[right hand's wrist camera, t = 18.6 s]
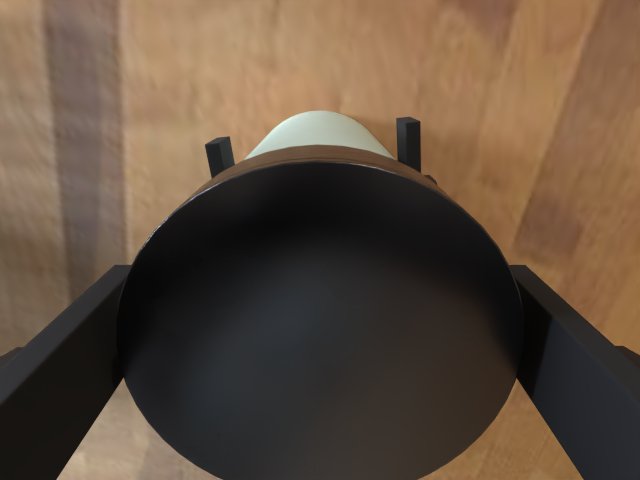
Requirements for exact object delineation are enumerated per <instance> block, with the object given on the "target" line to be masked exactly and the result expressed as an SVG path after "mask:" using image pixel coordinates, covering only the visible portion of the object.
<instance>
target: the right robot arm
mask: <svg viewBox="0 0 640 480" xmlns="http://www.w3.org/2000/svg"><path fill="white" fill-rule="evenodd" d="M131 266H132V265H114V266H113V267H112V268H111V269H110V270H109V271H108V272H107V273H105V274H104V275H103V276H102V277H101V278H100V279H99V280H98V281H97V282H96V283H94V284H93V285H92V286H91V287H90V288H89V289H88V290H87V291H86V292H84V293H83V294H82V295H81V296H80V297H79V298H78V299H77V300H76V301H74V302H73V303H72V304H71V305H70V306H69V307H68V308H67V309H66V310H64V311H63V312H62V313H61V314H60V315H59V316H58V317H57V318H56V319H54V320H53V321H52V322H51V323H50V324H49V325H48V326H47V327H46V328H45V329H43V330H42V331H41V332H40V333H39V334H38V335H37V336H36V337H35V338H33V339H32V340H31V341H30V342H29V343H28V344H27V345H26V346H25V347H17V348H15V349H14V350H12V351H10V352H8V353H6V354H5V355H3V356H1V357H0V480H56V479H57V478H58V476H59V475H60V473H61V472H62V470H63V468H64V467H65V465H66V464H67V462H68V461H69V459H70V458H71V456H72V455H73V453H74V452H75V450H76V449H77V447H78V446H79V444H80V443H81V441H82V440H83V438H84V437H85V435H86V434H87V432H88V431H89V429H90V428H91V426H92V425H93V423H94V422H95V420H96V418H97V417H98V415H99V414H100V412H101V411H102V409H103V408H104V406H105V405H106V403H107V402H108V400H109V399H110V397H111V396H112V394H113V393H114V391H115V390H116V388H117V387H118V385H119V384H120V382H121V381H122V379H123V378H124V376H123V373H122V370H121V367H120V363H119V357H118V351H117V345H116V317H117V311H118V304H119V298H120V294H121V291H122V288H123V285H124V282H125V279H126V276H127V273H128V272H129V270H130V268H131ZM509 266H510V268H511V270H512V273H513V276H514V279H515V281H516V284H517V287H518V289H519V293H520V298H521V303H522V308H523V313H524V345H523V353H522V360H521V364H520V367H519V371H518V374H517V379H518V381H519V382H520V384H521V385H522V387H523V388H524V390H525V391H526V393H527V394H528V396H529V397H530V399H531V400H532V402H533V403H534V405H535V406H536V408H537V409H538V411H539V412H540V414H541V415H542V417H543V418H544V420H545V422H546V423H547V425H548V426H549V428H550V429H551V431H552V432H553V434H554V435H555V437H556V438H557V440H558V441H559V443H560V444H561V446H562V447H563V449H564V450H565V452H566V453H567V455H568V456H569V458H570V459H571V461H572V462H573V464H574V465H575V467H576V468H577V470H578V472H579V473H580V475H581V476H582V478H583V479H584V480H640V355H638V354H636V353H635V352H633V351H631V350H629V349H628V348H626V347H624V346H614V345H613V344H612V343H611V342H610V341H609V340H608V339H607V338H605V337H604V336H603V335H602V334H601V333H600V332H599V331H598V330H597V329H595V328H594V327H593V326H592V325H591V324H590V323H589V322H588V321H587V320H586V319H584V318H583V317H582V316H581V315H580V314H579V313H578V312H577V311H576V310H574V309H573V308H572V307H571V306H570V305H569V304H568V303H567V302H566V301H564V300H563V299H562V298H561V297H560V296H559V295H558V294H557V293H556V292H554V291H553V290H552V289H551V288H550V287H549V286H548V285H547V284H546V283H544V282H543V281H542V280H541V279H540V278H539V277H538V276H537V275H536V274H535V273H533V272H532V271H531V270H530V269H529V268H528V267H527V266H526V265H509Z"/></svg>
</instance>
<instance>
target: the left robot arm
mask: <svg viewBox="0 0 640 480" xmlns="http://www.w3.org/2000/svg"><path fill="white" fill-rule="evenodd" d="M396 121H397V152H398V161H399V162H401V163H403V164H405V165H407V166H409V167H411V168H413V169H415V170H416V171H418V172H419V173H421V148H420V121H418V120H416V119H413V118H411V117H403V118H396ZM205 148H206V153H207V157H208V162H209V167H210V172H211V176H212V178H214V177H215V176H217V175H218V174H219V173H221V172H222V171H224V170H226V169H228V168H230V167H232V166H234V165H235V163H234V158H233V152H232V147H231V142H230V136H229V137H220V138H216V139H214V140H212V141H211V142H209V143H207V144H205ZM424 176H425V177H426V178H428V179H429V180H431V181H432V182H434V183H435V184H436V185H437V183H436V181H435V180H434V179H433V178H432V177H431V176H430V175H424ZM437 186H438V185H437Z"/></svg>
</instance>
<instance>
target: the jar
mask: <svg viewBox="0 0 640 480" xmlns="http://www.w3.org/2000/svg"><path fill="white" fill-rule="evenodd" d="M316 144H319V145H339V146H347V147H353V148H358V149H363V150H368V151H371V152H375V153H378V154H381V155H384V156H387V157H390V158H392V159H395V158H394V157H393V156H392V155H391V154H390V153H389V152H388V151H387V150H386V149H385V148H384V147H383V146H382V145H381V144H380V143H379V142H378V140H377V139H376V138H375V137H374V136H373V135H372V134H371V133H370V132H369V131H368V130H367V129H366V128H365V127H363V126H362V125H361V124H360V123H358V122H357V121H355V120H353V119H351V118H349V117H347V116H345V115H342V114H339V113H335V112H329V111H311V112H305V113H301V114H298V115H295V116H293V117H291V118H289V119H287V120H285V121H283V122H282V123H281V124H279V125H278V126H277V127H275V128H274V129H273V130H272V131H271V132H270V133H269V134H268V135H267V136H266V137H265V139H264V140H263V141H262V142H261V143H260V144H259V145H258V146H257V147H256V148H255V149H254V150H253V151H252V152H251V153H250V154H249V155H248V157H247V158H246V159H249V158H251V157H254V156H257V155H260V154H262V153H265V152H269V151H273V150H278V149H282V148H287V147H292V146H304V145H316ZM246 159H245V160H246ZM395 160H396V159H395Z"/></svg>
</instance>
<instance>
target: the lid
mask: <svg viewBox="0 0 640 480" xmlns="http://www.w3.org/2000/svg"><path fill="white" fill-rule="evenodd" d="M116 345H117V351H118V357H119V363H120V367H121V370H122V373H123V376H124V379H125V382H126V385H127V387H128V389H129V391H130V393H131V395H132V397H133V399H134V401H135V403H136V405H137V407H138V408H139V410H140V411H141V413H142V414H143V416H144V417H145V418H146V420H147V421H148V423H149V424H150V425H151V426H152V427H153V429H154V430H155V431H156V432H157V433H158V434H159V435H160V436H161V438H162V439H163V440H164V441H166V442H167V443H168V444H169V445H170V446H171V447H172V448H173V449H175V450H176V451H177V452H178V453H179V454H181V455H182V456H183V457H185V458H186V459H188V460H189V461H190V462H192V463H193V464H195V465H196V466H198V467H200V468H201V469H203V470H205V471H207V472H209V473H210V474H212V475H214V476H216V477H218V478H220V479H223V480H418V479H420V478H422V477H424V476H426V475H428V474H430V473H432V472H434V471H435V470H437V469H439V468H440V467H442V466H444V465H446V464H447V463H449V462H450V461H451V460H453V459H454V458H455V457H457V456H458V455H459V454H461V453H462V452H463V451H465V450H466V449H467V448H468V447H469V446H470V445H471V444H472V443H473V442H475V441H476V440H477V439H478V438H479V437H480V436H481V435H482V434H483V432H484V431H485V430H486V429H487V428H488V426H489V425H490V424H491V423H492V422H493V420H494V419H495V418H496V416H497V415H498V413H499V412H500V410H501V408H502V407H503V405H504V404H505V402H506V401H507V398H508V396H509V394H510V392H511V390H512V387H513V385H514V383H515V381H516V378H517V374H518V371H519V367H520V364H521V360H522V353H523V345H524V313H523V308H522V303H521V298H520V293H519V289H518V287H517V284H516V281H515V279H514V276H513V273H512V270H511V268H510V266H509V265H508V263H507V261H506V259H505V258H504V256H503V254H502V252H501V251H500V249H499V247H498V246H497V244H496V243H495V242H494V241H493V239H492V238H491V237H490V236H489V234H488V233H487V232H486V231H485V229H484V228H483V227H482V226H481V225H480V224H479V223H478V222H477V221H476V220H475V219H474V218H473V217H471V216H470V215H469V214H468V213H467V212H466V211H465V210H464V209H463V208H462V207H461V206H459V205H458V204H457V203H456V202H455V201H454V200H453V199H452V198H451V197H449V196H448V195H447V194H446V193H445V192H444V191H443V190H442V189H441V188H439V187H438V186H437V185H436V184H435V183H434V182H432V181H431V180H429V179H428V178H426V177H425V176H424V175H422V174H421V173H419V172H418V171H416V170H415V169H413V168H411V167H409V166H407V165H405V164H403V163H401V162H399V161H397V160H395V159H392V158H390V157H387V156H384V155H381V154H378V153H375V152H371V151H368V150H363V149H358V148H353V147H347V146H339V145H319V144H316V145H304V146H292V147H287V148H282V149H278V150H273V151H269V152H265V153H262V154H260V155H257V156H254V157H251V158H249V159H246V160H243V161H241V162H239V163H237V164H236V165H234V166H232V167H230V168H228V169H226V170H224V171H222V172H221V173H219V174H218V175H217V176H215V177H214V178H212V179H211V180H210V181H208V182H207V183H206V184H204V185H203V186H202V187H201V188H199V189H198V190H197V191H196V192H195V193H194V194H193V195H192V196H191V197H189V198H188V199H187V200H186V201H185V202H184V203H183V204H182V205H181V206H179V207H178V208H177V209H176V210H175V211H174V212H173V213H172V214H171V215H170V216H169V217H168V218H167V219H166V220H165V221H164V222H163V223H162V224H161V225H160V226H159V227H158V228H157V229H156V230H155V231H154V232H153V233H152V235H151V236H150V237H149V239H148V240H147V241H146V243H145V244H144V245H143V247H142V248H141V249H140V251H139V252H138V254H137V256H136V258H135V260H134V262H133V264H132V266H131V268H130V270H129V272H128V273H127V276H126V279H125V282H124V285H123V288H122V291H121V294H120V298H119V304H118V311H117V317H116Z"/></svg>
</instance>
